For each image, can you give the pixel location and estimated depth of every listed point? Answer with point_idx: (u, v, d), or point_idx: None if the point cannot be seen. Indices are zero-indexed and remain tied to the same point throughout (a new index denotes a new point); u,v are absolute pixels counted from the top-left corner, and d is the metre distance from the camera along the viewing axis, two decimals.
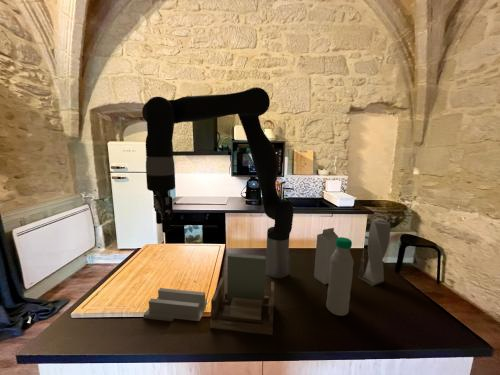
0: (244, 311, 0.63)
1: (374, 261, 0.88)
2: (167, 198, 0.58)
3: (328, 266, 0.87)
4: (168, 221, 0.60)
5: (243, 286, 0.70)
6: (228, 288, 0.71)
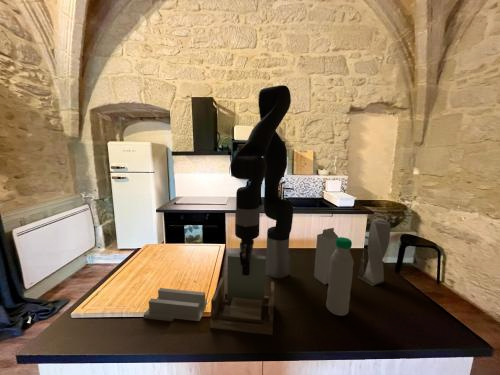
0: (244, 311, 0.63)
1: (374, 261, 0.88)
2: None
3: (328, 266, 0.87)
4: None
5: (243, 286, 0.70)
6: (228, 288, 0.71)
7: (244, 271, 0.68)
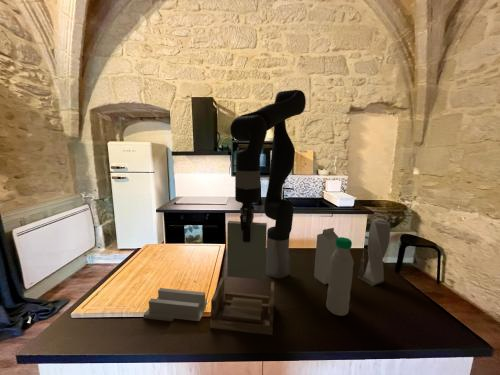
0: (244, 311, 0.63)
1: (374, 261, 0.88)
2: None
3: (328, 266, 0.87)
4: None
5: (244, 254, 0.69)
6: (228, 256, 0.69)
7: (245, 237, 0.66)
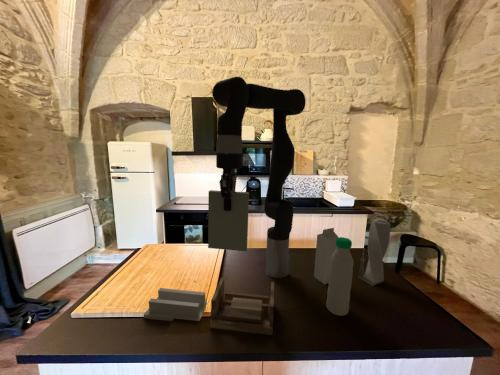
0: (244, 311, 0.63)
1: (374, 261, 0.88)
2: None
3: (328, 266, 0.87)
4: None
5: (225, 224, 0.67)
6: (209, 227, 0.67)
7: (225, 205, 0.64)
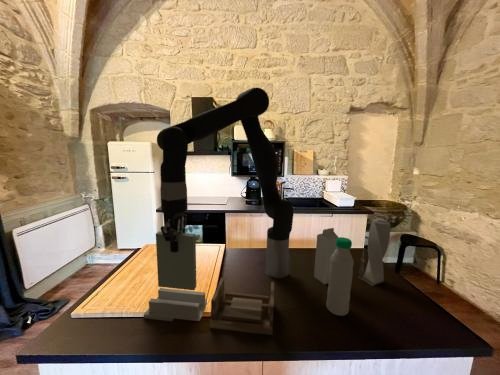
0: (244, 311, 0.63)
1: (374, 261, 0.88)
2: None
3: (328, 266, 0.87)
4: None
5: (173, 265, 0.69)
6: (158, 267, 0.70)
7: (171, 247, 0.66)
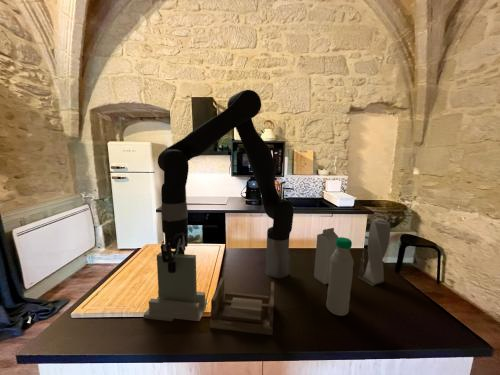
0: (244, 311, 0.63)
1: (374, 261, 0.88)
2: None
3: (328, 266, 0.87)
4: None
5: (173, 285, 0.70)
6: (159, 287, 0.71)
7: (169, 268, 0.65)
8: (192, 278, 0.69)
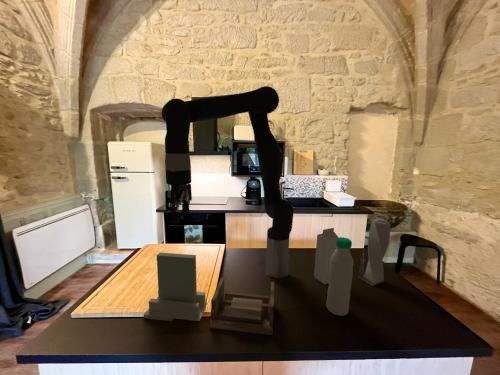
0: (244, 311, 0.63)
1: (374, 261, 0.88)
2: None
3: (328, 266, 0.87)
4: None
5: (173, 285, 0.70)
6: (159, 287, 0.71)
7: (172, 218, 0.65)
8: (192, 278, 0.69)
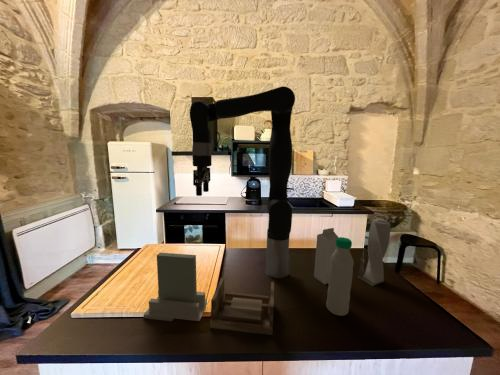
0: (244, 311, 0.63)
1: (374, 261, 0.88)
2: None
3: (328, 266, 0.87)
4: None
5: (173, 285, 0.70)
6: (159, 287, 0.71)
7: (197, 191, 0.86)
8: (192, 278, 0.69)
